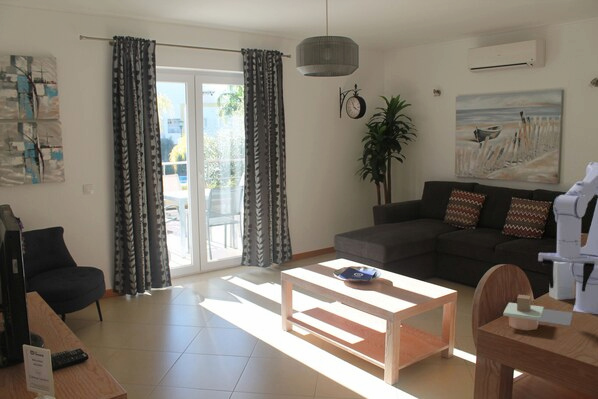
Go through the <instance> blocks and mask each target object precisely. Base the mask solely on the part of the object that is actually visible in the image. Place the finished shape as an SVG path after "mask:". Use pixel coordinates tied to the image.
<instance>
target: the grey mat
mask: <svg viewBox="0 0 598 399" xmlns="http://www.w3.org/2000/svg"><path fill="white" fill-rule="evenodd" d="M573 314H574V313H573V312H570V311H561V310H554V309H547V308H546V309H545V308H544V310H543V313H542V316H541V319H540V320H538V323H539V322H541V323H547V324H554V325H555V324H556V325H563V326H569V327H570V326H571V323H572V318H573Z"/></svg>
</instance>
